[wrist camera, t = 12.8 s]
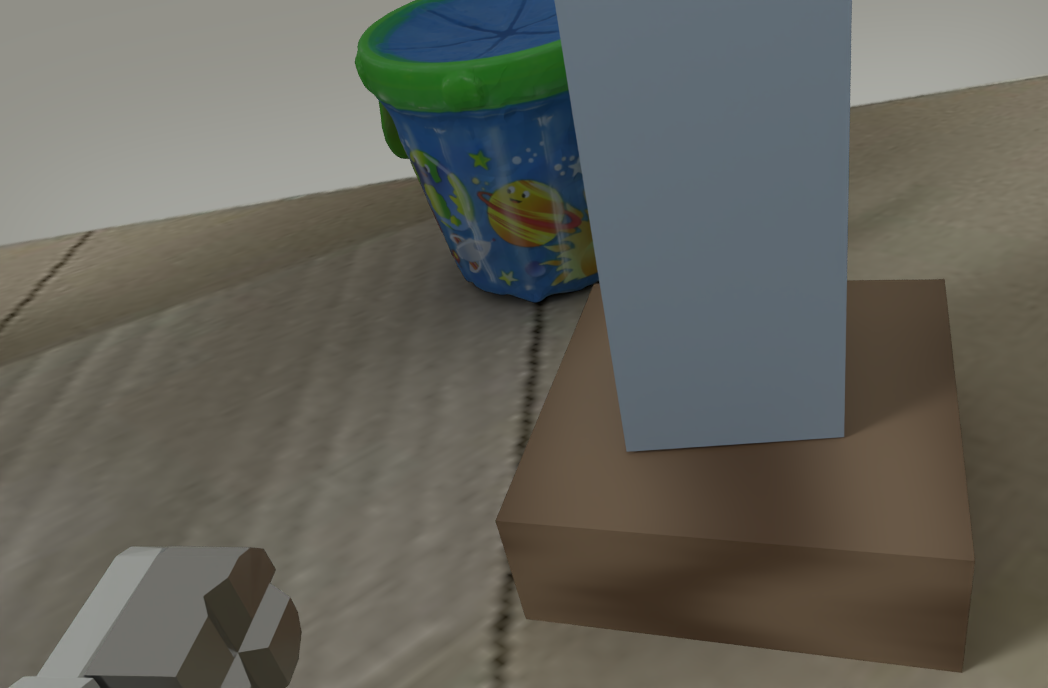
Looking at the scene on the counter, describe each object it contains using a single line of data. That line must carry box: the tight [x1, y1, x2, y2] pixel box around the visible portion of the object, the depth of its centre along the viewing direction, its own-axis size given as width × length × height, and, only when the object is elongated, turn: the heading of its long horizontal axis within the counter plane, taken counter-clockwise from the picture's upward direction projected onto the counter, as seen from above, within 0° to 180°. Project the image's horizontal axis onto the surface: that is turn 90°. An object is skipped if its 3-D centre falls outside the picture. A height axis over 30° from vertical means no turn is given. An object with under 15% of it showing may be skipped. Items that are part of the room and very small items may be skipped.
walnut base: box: [496, 279, 975, 673], centre depth 24 cm, size 10×10×4 cm
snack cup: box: [355, 0, 599, 303], centre depth 35 cm, size 16×10×10 cm
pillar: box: [554, 0, 852, 452], centre depth 21 cm, size 5×5×11 cm
